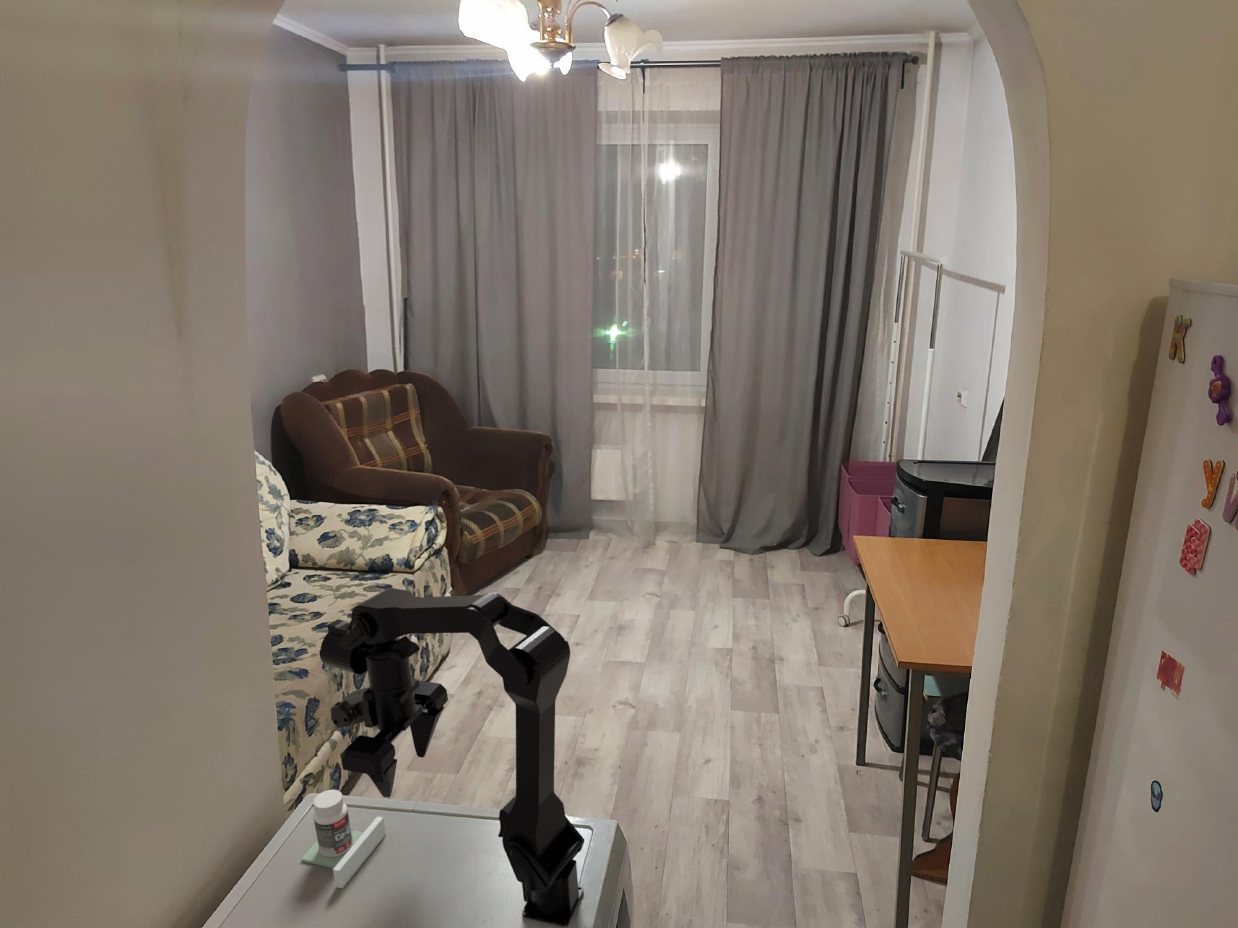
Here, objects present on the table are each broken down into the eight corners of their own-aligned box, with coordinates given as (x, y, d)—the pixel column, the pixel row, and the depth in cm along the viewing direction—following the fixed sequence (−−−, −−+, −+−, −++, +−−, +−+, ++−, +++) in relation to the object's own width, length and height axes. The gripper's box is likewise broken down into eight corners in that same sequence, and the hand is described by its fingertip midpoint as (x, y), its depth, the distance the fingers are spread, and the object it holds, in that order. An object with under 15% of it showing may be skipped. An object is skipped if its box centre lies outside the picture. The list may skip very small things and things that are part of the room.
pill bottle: (342, 859, 123) (334, 811, 120) (313, 856, 124) (304, 807, 121) (359, 836, 127) (351, 789, 125) (330, 833, 128) (322, 786, 126)
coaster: (370, 836, 128) (370, 833, 128) (342, 869, 121) (342, 867, 121) (331, 828, 130) (330, 825, 130) (301, 860, 124) (301, 858, 123)
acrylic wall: (386, 833, 128) (383, 817, 127) (342, 888, 118) (339, 870, 117) (380, 832, 128) (377, 816, 127) (336, 886, 118) (332, 869, 117)
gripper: (377, 640, 128) (391, 730, 133) (297, 709, 111) (316, 809, 116) (443, 648, 125) (455, 740, 129) (371, 720, 108) (387, 823, 113)
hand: (404, 775), depth 122 cm, fingers open, 9 cm apart
